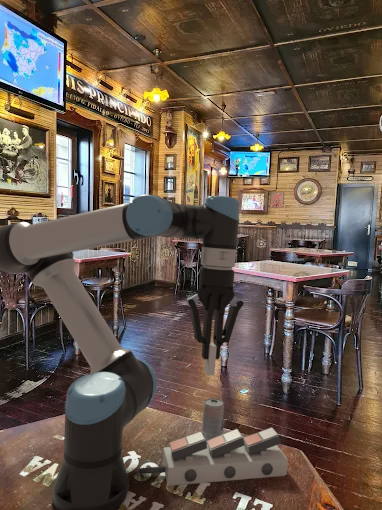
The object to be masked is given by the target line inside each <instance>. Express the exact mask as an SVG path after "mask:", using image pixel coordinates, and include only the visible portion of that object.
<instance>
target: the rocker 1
mask: <svg viewBox="0 0 382 510" xmlns="http://www.w3.org/2000/svg"><path fill="white" fill-rule="evenodd" d="M168 445H169V447H170V449H171V452H172V456H173V460H177V459H180V458H183V457H185V456H188V455H191V454H193V453H196V452H199V451H202V450H204V449H207V444H206V440H205V438H204V436H203V434H202V430H201V431H198V432H195V433H192V434H189V435H187V436H184V437H181V438H178V439H176V440H173V441H171V442H168Z"/></svg>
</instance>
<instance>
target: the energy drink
mask: <svg viewBox="0 0 382 510" xmlns="http://www.w3.org/2000/svg"><path fill="white" fill-rule="evenodd" d="M202 409H203V411H202V424H201V425H202V426H201V429H202V430H201V431H202V434H203V436H204V438H205V440H206V441H208V440H210V439H213V438H215V437H218V436H220V435H223V434H224V433H223V432H224V418H225V417H224V416H225V404H224V401H223V400H221V399H219V398H215V397H209V398H206V399H205V400H204V402H203V407H202ZM206 444H207V442H206Z"/></svg>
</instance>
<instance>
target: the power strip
mask: <svg viewBox="0 0 382 510" xmlns="http://www.w3.org/2000/svg"><path fill="white" fill-rule="evenodd" d="M159 473H161V474H163V473H164V476H165V480H166V485H167V486H169V487H171V486H180V485H193V484H204V483H217V482H228V481H240V480H248V479H263V478H264V479H265V478H272V477H275V478H276V477H285V475H288V457H287V456H286V455H285V453H284V452H283V451H282V450H281V448H279V446H278V445H275V446H273V447H270V448H268V449H265V450H262V451H260V452H257V453H254V454H252V455H250V454H249V453H248V451H247V450H246V448H245V447H244V446H242V447H239V448H237V449H235V450H232V451H230V452H227V453H225V454H222V455H220V456H218V457H215V458H213V457H212V455H211V453H210V451H209V448H208V445H207V449H204V450H202V451H199V452H196V453H193V454H191V455H188V456H185V457H183V458H180V459H177V460H173V456H172V452H171V449H170V446H167V447H165V446H164V447H163V451H162V466H151V467H138V475H149V474H159Z"/></svg>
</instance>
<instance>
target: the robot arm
mask: <svg viewBox="0 0 382 510" xmlns="http://www.w3.org/2000/svg"><path fill="white" fill-rule="evenodd" d="M239 216H240V202H239V200H238V199H237V198H235V197H233V196H225V195H209V196H207V197H206V199H205V202H204V204H200V205H199V204H198V205H196V204H195V205H194V204H183V203H178V202H176V201H175V202H174V201H171V200H168V199H167V198H163V197H161V196H158V195H155V194H142V195H141V194H140V195H138V196H136V197H135V198H133V199H132V200H131V201H130V202H126V203H122V204H117V205H113V206H109V207H104V208H99V209H96V210H91V211H86V212H81V213H77V214H73V215H69V216H64V217H60V218H55V219H51V220H45V221H43V222H37V223H33V224H31V223H29V222H25V221H22V222H21V221H20V222H16V223H12V224H11V223H10V224H6V225H1V226H0V271H1V272H3V273H8V274H23V273H24V274H25V273H26V274H27V276H28V278H29V279H30V281H31V283H32V284H33V285H34V286H36V287H40V288H42V289H43V290H44V292H45V293H46V295H47V297H48V299H49V300H50V302H51V303H52V306H53V307H54V308H55V310H56V311H57V314H58V315H59V317H60V318H61V320H62V322H63V323H64V325H65V327H66V328H67V330H68V332H69V333H70V335H71V337H72V339H73V340H74V342H75V343H76V346H77V347H78V348H79V350H80V352H81V353H82V355H83V357H84V358H85V360H86V362H87V363H88V365H89V367H90V373H87V374H85V375H82V376H80V377H79V378H77V379H75V380H74V381H73V382H72V383H71V385H70V386H69V387H68V389H67V391H66V392H67V393H66V397H65V398H66V400H65V403H64V413H65V416H64V417H65V419H64V440H63V442H64V443H63V444H64V445H63V459H62V462H61V465H60V466H59V467H60V468H59V469H58V472H57V476H56V478H55V480H54V483H53V487H52V488H53V490H52V502H53V505H54V508H55V509H56V510H116V509H118V508H119V507H120V506H121V505H122V504H124V502H125V500H126V499H127V497H128V494H129V483H130V482H129V481H130V480H129V474H128V471H127V468H126V464H125V460H124V457H123V453H122V452H123V450H122V449H123V434H124V428H125V427H126V426H127V425H128V424H129V423H130V422H131V421H132V420H134V418H135V417H136V416H137V415H139V414H140V413H141V412H143V410H145V409H146V408H147V407H148V406H149V405H150V403H151V402H152V401H153V399H154V397H155V396H156V394H157V393H156V391H157V388H158V382H157V376H156V372H155V370H154V369H153V367H152V366H151V365H150V364H149V363H148V362H147V361H145V360H142V359H139V358H136V356H135V355H134V353H133V351H132V350H131V349H129V348H128V349H127V348H123V347H122V346H121V344H120V342H119V341H118V339H117V338H116V336H115V334H114V333H113V331H112V329H111V328H110V327H109V325H108V323H107V322H106V320H105V319H104V317H103V316H102V313H101V311H99V310H100V309H98V307H97V306H96V304H95V302H94V301H93V298H91V296H90V294H89V293H88V291H87V290H86V287H84V285H83V283H82V282H81V279H79V277H78V275H77V273H76V271H74V269H75V266H76V260H75V259H74V255H75V254H74V253H75V252H80V251H85V250H90V249H95V248H100V247H105V246H110V245H116V244H121V243H126V242H131V241H138V240H143V239H148V238H149V239H150V238H154V237H163V238H176V239H177V238H178V239H180V238H181V239H195V240H202V244H201V246H202V247H201V256H200V265H201V266H202V267H201V268H200V269H199V271H200V273H199V281H198V282H199V283H198V288H197V289H196V292H195V294H194V295H192V296H191V297H189V296H188V297H186V298H185V303H187V305H188V307H189V311H190V316H191V324H192V329H193V335H194V339H195V341H197V343H200V344H202V347H201V358H202V359H203V360H205V361H204V373H205V374H206V375H207V376H215V371H216V360H219V359H220V357H221V347H222V346H224V345H223V344H226V343H230V341H231V337H232V334H233V330H234V327H235V324H236V321H237V318H238V316H239V315H238V314H239V311H240V310H241V309H242V307H243V305H244V301H243V300H241V299H239V298H238V297H236V296H235V292H234V284H235V282H234V281H235V271H234V269H233V268H235V266H236V255H237V245H238V235H239V234H238V232H239V223H240V218H239ZM199 301H200V303H201V305H202V307H203V313H204V314H203V323H202V327H201V319H200V314H199V313H200V312H199V309H198V305H199ZM229 304H230V307H229V309H228V313H227V317H226V320H225V323H224V317H225V314H226V308H227V307H228V305H229ZM213 316H214V324H213ZM212 326H213V327H212ZM212 328H213V337H212ZM211 338H213V339H211ZM211 340H213V342H211Z"/></svg>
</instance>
